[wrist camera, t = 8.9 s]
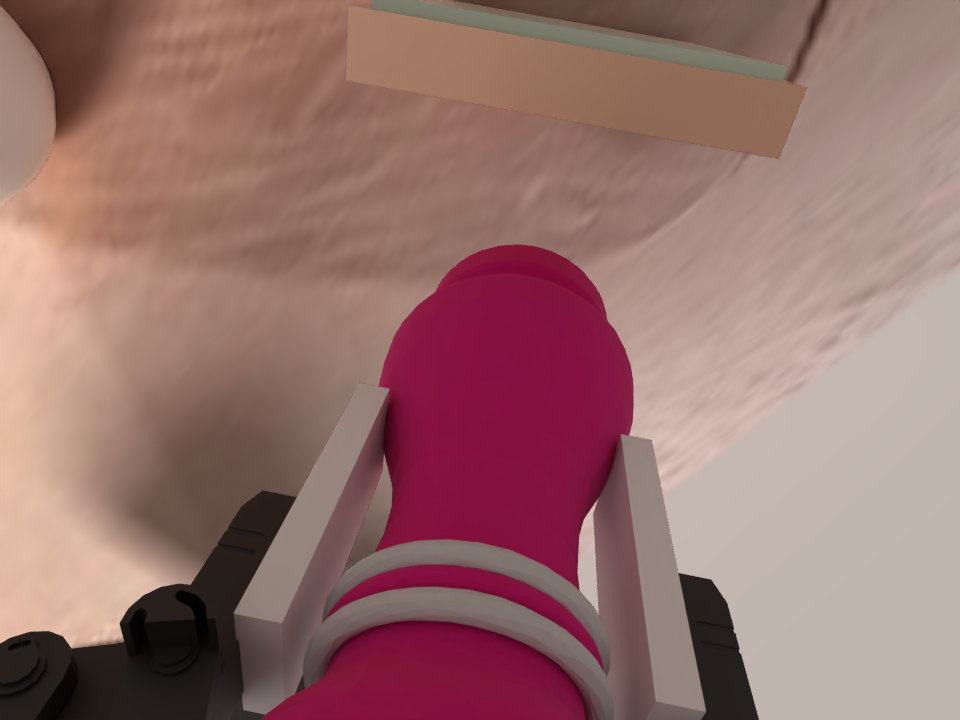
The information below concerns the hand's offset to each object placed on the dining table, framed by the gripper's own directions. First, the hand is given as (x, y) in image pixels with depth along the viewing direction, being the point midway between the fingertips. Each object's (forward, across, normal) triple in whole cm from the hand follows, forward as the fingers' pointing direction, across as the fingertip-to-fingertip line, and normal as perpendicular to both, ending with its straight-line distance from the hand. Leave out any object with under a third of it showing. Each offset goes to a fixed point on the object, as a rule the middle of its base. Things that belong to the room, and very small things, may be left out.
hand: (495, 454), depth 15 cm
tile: (+15, 0, -8) cm, 17 cm away
